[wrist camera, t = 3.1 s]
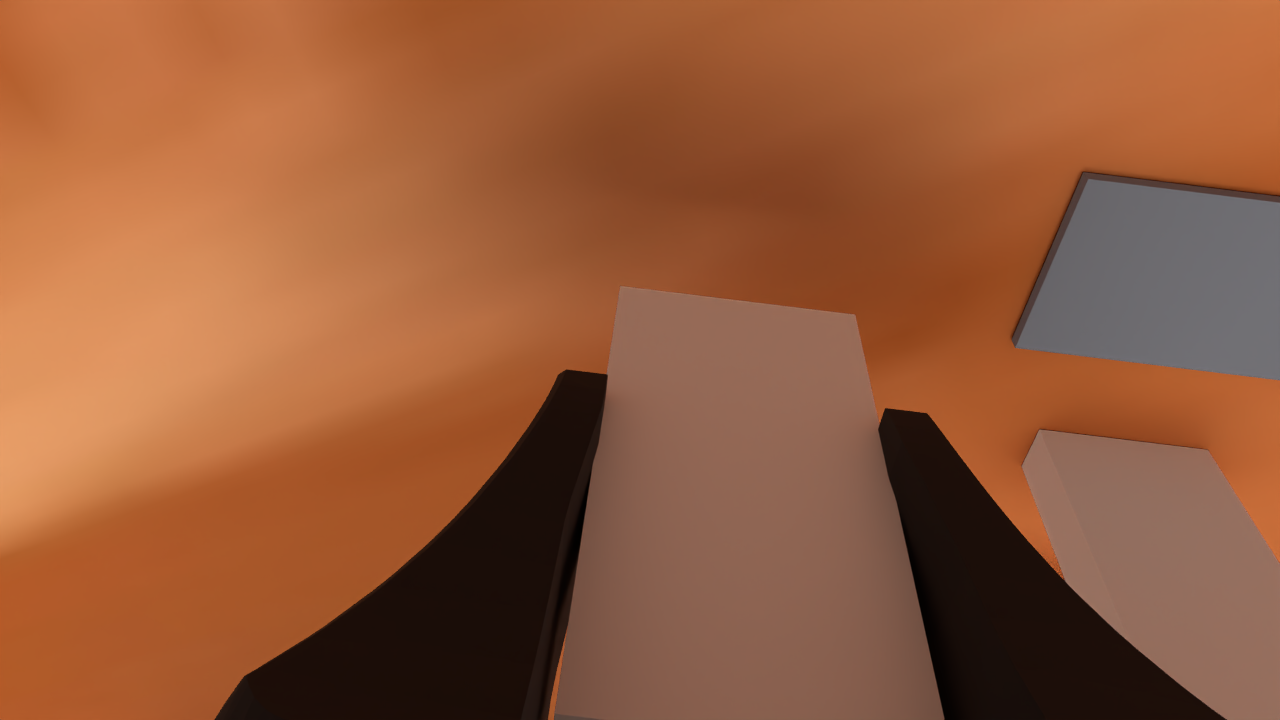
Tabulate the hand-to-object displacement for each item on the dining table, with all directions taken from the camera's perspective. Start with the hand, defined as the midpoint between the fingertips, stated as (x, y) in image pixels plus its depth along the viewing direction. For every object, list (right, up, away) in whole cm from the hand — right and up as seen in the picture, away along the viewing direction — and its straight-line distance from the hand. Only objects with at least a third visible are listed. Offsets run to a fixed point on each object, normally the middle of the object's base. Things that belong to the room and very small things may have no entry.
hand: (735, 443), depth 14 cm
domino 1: (0, +2, +2) cm, 3 cm away
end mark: (+10, +3, +5) cm, 12 cm away
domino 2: (+10, -1, +8) cm, 13 cm away
